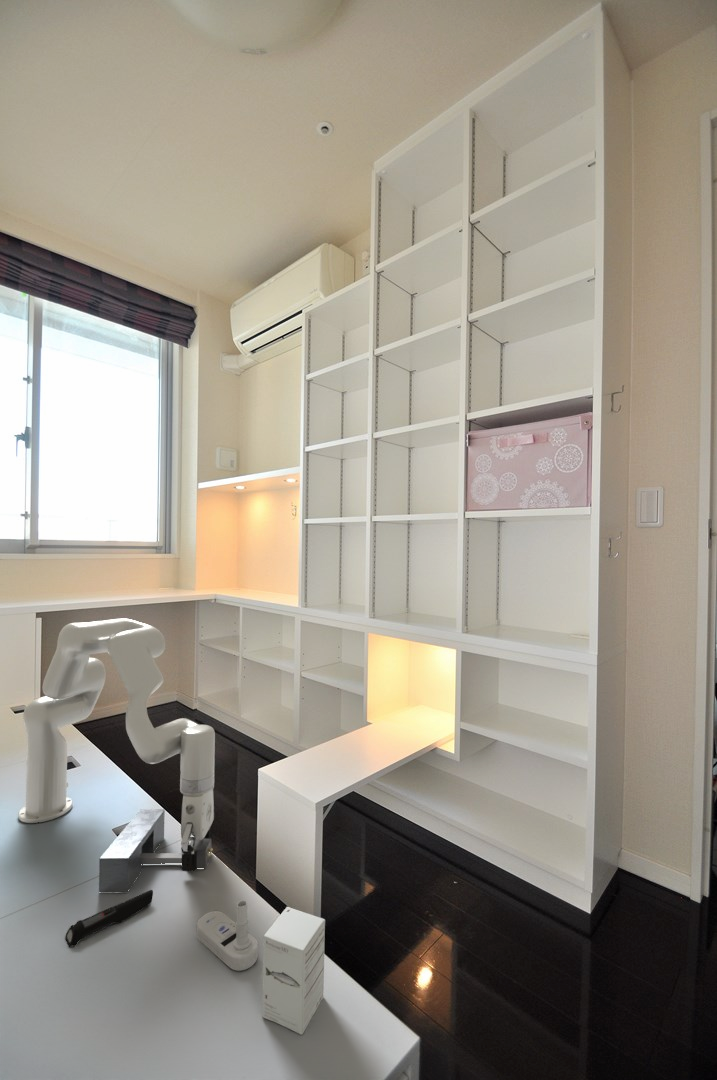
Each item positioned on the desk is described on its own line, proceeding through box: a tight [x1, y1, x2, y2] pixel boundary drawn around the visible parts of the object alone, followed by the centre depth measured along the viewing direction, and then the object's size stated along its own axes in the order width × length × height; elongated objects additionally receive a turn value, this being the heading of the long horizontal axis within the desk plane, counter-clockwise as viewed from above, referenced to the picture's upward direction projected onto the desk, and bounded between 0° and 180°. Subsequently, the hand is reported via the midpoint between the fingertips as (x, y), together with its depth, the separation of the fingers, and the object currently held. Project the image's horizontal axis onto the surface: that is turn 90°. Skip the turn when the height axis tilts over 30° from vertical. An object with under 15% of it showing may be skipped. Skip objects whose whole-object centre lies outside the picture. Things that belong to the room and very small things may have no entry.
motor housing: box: [98, 808, 166, 893], centre depth 114 cm, size 6×20×7 cm, turn 0°
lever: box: [141, 838, 214, 869], centre depth 114 cm, size 22×4×4 cm, turn 91°
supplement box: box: [261, 906, 326, 1036], centre depth 78 cm, size 7×7×13 cm
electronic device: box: [196, 899, 259, 972], centre depth 90 cm, size 5×10×15 cm
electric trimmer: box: [64, 889, 154, 948], centre depth 96 cm, size 4×16×3 cm, turn 134°
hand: (196, 856), depth 114 cm, fingers open, 9 cm apart
